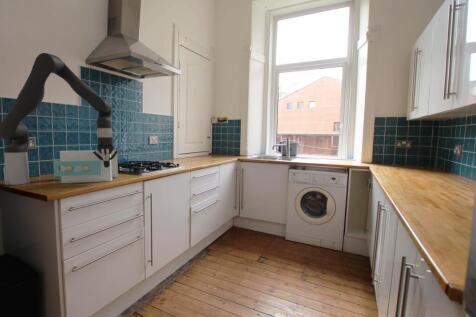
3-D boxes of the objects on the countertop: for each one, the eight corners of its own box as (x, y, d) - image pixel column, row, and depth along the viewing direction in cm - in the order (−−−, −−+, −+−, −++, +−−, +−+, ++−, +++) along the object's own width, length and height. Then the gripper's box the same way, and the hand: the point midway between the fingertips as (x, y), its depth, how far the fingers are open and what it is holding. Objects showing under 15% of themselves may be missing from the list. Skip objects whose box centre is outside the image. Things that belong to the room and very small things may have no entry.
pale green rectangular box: (55, 185, 127) (53, 152, 125) (64, 181, 139) (62, 150, 137) (108, 183, 135) (106, 151, 133) (112, 179, 147) (111, 150, 145)
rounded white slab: (121, 177, 155) (120, 149, 153) (108, 179, 149) (107, 150, 148) (108, 172, 175) (107, 147, 173) (96, 173, 170) (95, 147, 168)
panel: (54, 176, 128) (53, 161, 127) (55, 175, 129) (54, 161, 128) (101, 174, 134) (100, 160, 133) (101, 174, 135) (100, 160, 135)
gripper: (89, 136, 128) (91, 168, 130) (116, 136, 132) (118, 167, 134) (93, 136, 135) (95, 167, 137) (119, 136, 139) (120, 166, 141)
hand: (107, 167), depth 136 cm, fingers closed
